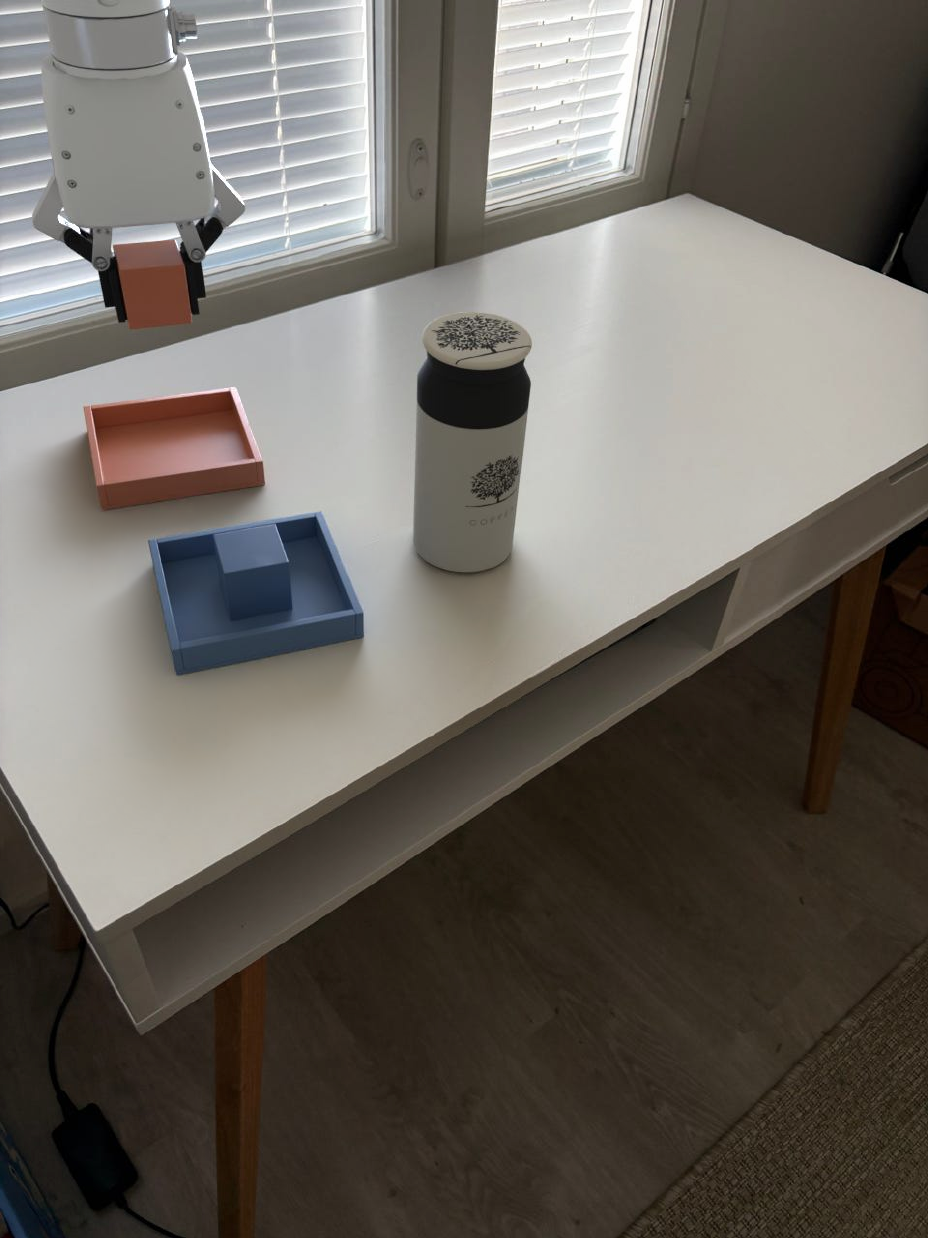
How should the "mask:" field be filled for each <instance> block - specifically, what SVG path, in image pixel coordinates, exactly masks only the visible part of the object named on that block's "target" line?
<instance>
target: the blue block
mask: <svg viewBox="0 0 928 1238" xmlns="http://www.w3.org/2000/svg"><path fill="white" fill-rule="evenodd" d="M213 538H214V545H215V552H216V559H217V565H218V572H219V579H220V584H221V588H222V591H223V595H224V598H225V602H226V606H227V609H228V613H229V617H230V620H231V621H234V620H239V619H244V618H249V617H254V616H260V615H265V614H270V613H275V612H280V611H285V610H291V609H293V606H292V594H291V582H290V569H289V561H288V558H287V555H286V553H285V550H284V547H283V544H282V541H281V539H280V536H279V533H278V530H277V527H276V525H275V524H273V525H267V526H261V527H255V528H249V529H243V530H237V531H231V532H225V533H219V534H214V535H213Z"/></svg>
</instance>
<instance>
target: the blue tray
mask: <svg viewBox="0 0 928 1238" xmlns="http://www.w3.org/2000/svg"><path fill="white" fill-rule="evenodd" d="M327 523H328V522H327V521H326V519H325V516H324V514H323V512H322V511H321V510H320V511H314V512H307V513H301V514H295V515H289V516H284V517H278V518H277V517H276V518H272V519H265V520H259V521H253V522H248V523H241V524H235V525H229V526H222V527H217V528H212V529H205V530H200V531H193V532H187V533H181V534H176V535H170V536H163V537H157V538H151V539H148V541H147V543H148V547H149V552H150V553H149V554H150V557H151V560H152V561H151V563H152V568H153V572H154V577H155V580H156V587H157V591H158V595H159V601H160V605H161V609H162V615H163V620H164V624H165V629H166V633H167V634H166V635H167V640H168V643H169V647H170V648H169V649H170V654H171V658H172V663H173V667H174V672H175V676H180V675H185V674H190V673H195V672H201V671H205V670H210V669H215V668H219V667H225V666H229V665H234V664H240V663H245V662H249V661H254V660H259V659H264V658H270V657H273V656H279V655H283V654H288V653H289V654H290V653H294V652H298V651H299V652H300V651H304V650H307V649H308V650H309V649H313V648H317V647H318V648H319V647H322V646H327V645H328V646H329V645H333V644H337V643H342V642H347V641H352V640H357V639H362V638H364V637H365V624H364V623H365V622H364V621H365V620H364V619H365V618H364V611H363V608H362V606H361V603H360V601H359V599H358V597H357V594H356V591H355V588H354V587H353V584H352V581H351V579H350V577H349V574H348V572H347V570H346V567H345V564H344V562H343V560H342V556H341V555H340V552H339V550H338V548H337V545H336V543H335V540H334V538H333V535H332V533H331V530H330V529H329V526H328V524H327ZM273 524H275V525H276V527H277V530H278V533H279V536H280V539H281V541H282V544H283V547H284V550H285V553H286V555H287V558H288V561H289V569H290V582H291V594H292V606H293V609H291V610H285V611H280V612H275V613H270V614H265V615H260V616H254V617H249V618H244V619H239V620H234V621H231V620H230V617H229V613H228V609H227V606H226V602H225V598H224V595H223V591H222V588H221V584H220V579H219V572H218V565H217V559H216V552H215V545H214V538H213V535H214V534H219V533H225V532H231V531H237V530H243V529H249V528H255V527H261V526H267V525H273Z"/></svg>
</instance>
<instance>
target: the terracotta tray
mask: <svg viewBox="0 0 928 1238" xmlns="http://www.w3.org/2000/svg"><path fill="white" fill-rule="evenodd" d="M83 414H84V419H85V425H86V431H87V438H88V444H89V451H90V457H91V462H92V468H93V475H94V481H95V487H96V491H97V495H98V496H97V497H98V499H99V500H98V501H99V504H100V508H101V511H105V510H106V511H107V510H112V509H113V510H114V509H119V508H126V507H131V506H138V505H144V504H145V505H146V504H152V503H158V502H163V501H170V500H178V499H185V498H189V497H196V496H202V495H208V494H217V493H222V492H227V491H228V492H229V491H235V490H239V489H240V490H241V489H247V488H255V487H260V486H265V485H266V481H265V468H264V461H263V458H262V456H261V452H260V449H259V446H258V443H257V441H256V439H255V436H254V433H253V431H252V428H251V426H250V422H249V419H248V417H247V414H246V412H245V409H244V406H243V403H242V401H241V398H240V395H239V393H238V390H237V387H236V386H234V387H233V386H232V387H224V388H216V389H210V390H208V389H207V390H201V391H193V392H184V393H177V394H170V395H162V396H154V397H146V398H139V399H130V400H123V401H116V402H107V403H99V404H91V405H85V406H83Z"/></svg>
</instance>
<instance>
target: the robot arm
mask: <svg viewBox="0 0 928 1238" xmlns="http://www.w3.org/2000/svg"><path fill="white" fill-rule="evenodd" d="M40 1H41V4H42V9H43V15H44V20H45V25H46V30H47V35H48V40H49V44H50V49H51V53H50V54H47V55H46V56H44V57H42V58H41V91H42V101H43V109H44V110H43V111H44V118H45V124H46V130H47V137H48V143H49V149H50V155H51V161H52V166H53V172H52V174H51V176H50V178H49V180H48V182H47V184H46V186H45V188H44V190H43V192H42V194H41V196H40V198H39V200H38V201H37V204H36V206H35V208H34V209H33V212H32V213H31V217H32V226H33V227H34V229H36V230H37V231H39V232H40V233H42V234H44V235H46V236H48V237H50V238H52V239H53V240H55V241H57V242H61V243H63V244H64V245H65V246H66V247H67V248H69V249H70V250H71V251H73V252H74V253H76V254H77V255H79V256H80V257H81V258H83V259H84V260H86V261H87V262H88V263H90V264H91V265H92V267H93V268H94V270H96V271H97V273H98V279H99V284H100V288H101V294H102V299H103V303H104V307H105V309H106V308H114V309H115V313H116V318H117V322H118V324H123V323H126V321H128V319H127V314H126V309H125V303H124V298H123V292H122V287H121V282H120V276H119V271H118V267H117V263H116V259H115V256H114V253H113V249H112V244H113V243H112V241H113V229H115V228H116V229H117V228H129V227H130V228H131V227H142V226H154V225H156V226H157V225H166V224H167V225H168V224H175V226H176V228H177V231H178V233H179V235H180V238H181V242H180V243H179V251H180V254H181V257H182V260H183V263H184V266H185V273H186V280H187V288H188V295H189V302H190V309H191V316H197V315H200V314H201V313H200V306H199V299H206V298H207V293H206V285H205V278H204V270H203V263H202V262H203V261H204V260H205V259H206V255H207V254H206V253H207V252H208V251H209V249H211V247H212V246H213V245H214V243H215V242H217V240H219V238H220V236H221V235H222V234H223V232H224V230H225V229H227V228H229V227H230V226H231V225H232V224H233V223H234V222H235V221H237V219H239V218H240V217H241V216H242V215H243V214H244V213H245V211H246V206H245V203H244V201H243V199H242V198H241V196H240V195H239V194H238V192H237V191H235V190H234V188H233V187H232V186H231V185H230V184H229V182H228V181H226V179H225V178H224V177H223V176H222V175H221V173H220V172H219V171H218V170H217V169H216V168H215V167H214V165H213V164H212V163H211V159H210V152H209V147H208V146H209V145H208V139H207V135H206V130H205V125H204V124H205V123H204V118H203V115H202V112H201V109H200V103H199V99H198V94H197V89H196V83H195V80H194V76H193V73H192V70H191V67H190V64H189V61H188V58H187V55H186V54H185V53H183V52H182V51H178V47H179V46H180V47H181V42H182V41H183V42H185V41H186V40H187V39H197V38H198V27H197V20H196V16H195V14H194V13H183V12H182V11H177V10H176V9H175V7H174V6H173V7H172V6H171V4H170V2H171V1H170V0H40ZM215 200H217V203H215V202H216V201H215ZM215 204H216V205H215ZM62 209H63V211H64V215H65V216H66V218H64V217H62V216H60V213H61V211H62ZM66 219H67V220H66ZM194 221H197V222H196V224H195V222H194ZM85 229H89V231H86V230H85Z"/></svg>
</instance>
